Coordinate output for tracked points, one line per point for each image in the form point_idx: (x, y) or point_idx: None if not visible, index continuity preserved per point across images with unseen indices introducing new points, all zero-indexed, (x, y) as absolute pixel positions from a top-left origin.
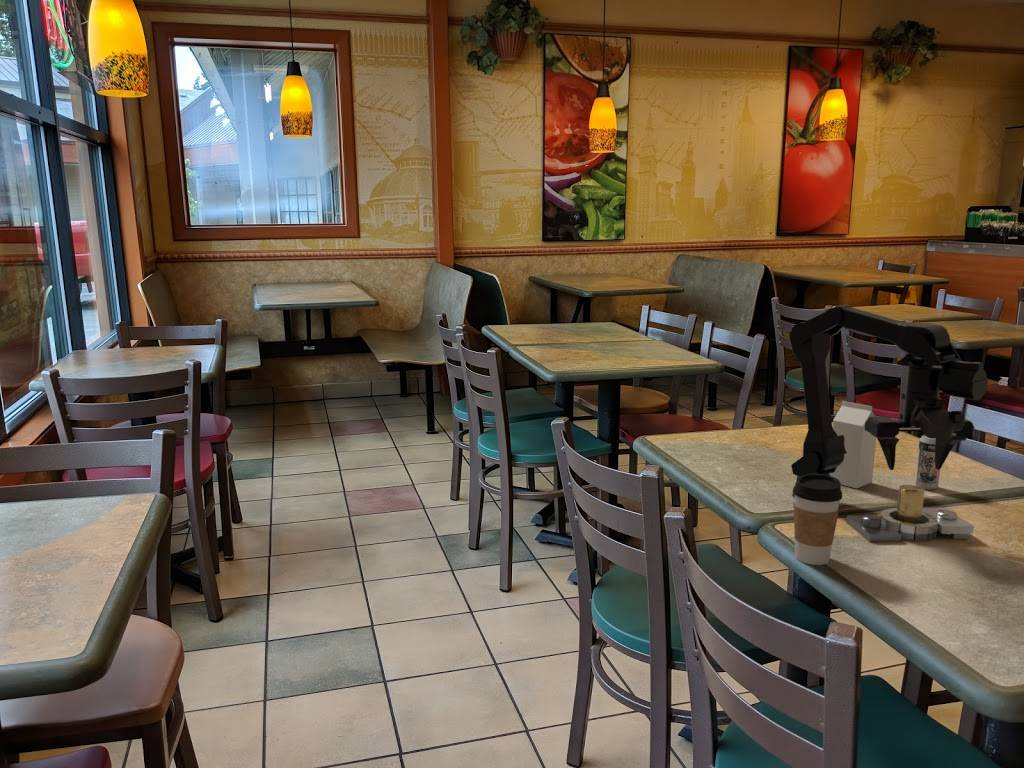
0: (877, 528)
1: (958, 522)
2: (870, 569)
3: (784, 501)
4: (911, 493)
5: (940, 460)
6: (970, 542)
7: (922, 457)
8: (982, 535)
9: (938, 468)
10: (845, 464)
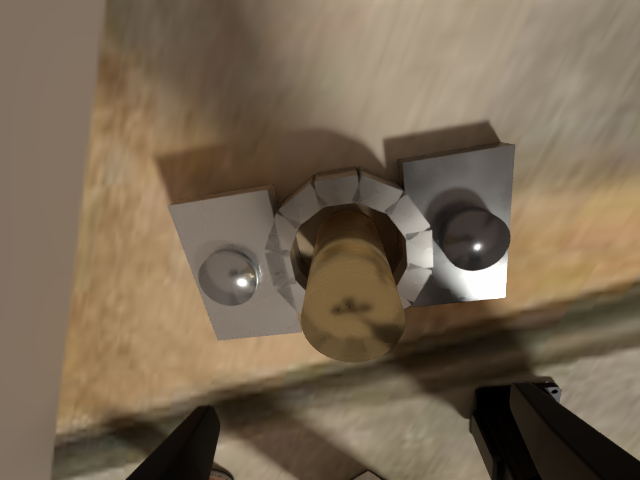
0: (460, 205)
1: (207, 231)
2: None
3: (588, 404)
4: (372, 274)
5: (174, 462)
6: (198, 182)
7: None
8: (156, 236)
9: (207, 409)
10: None
